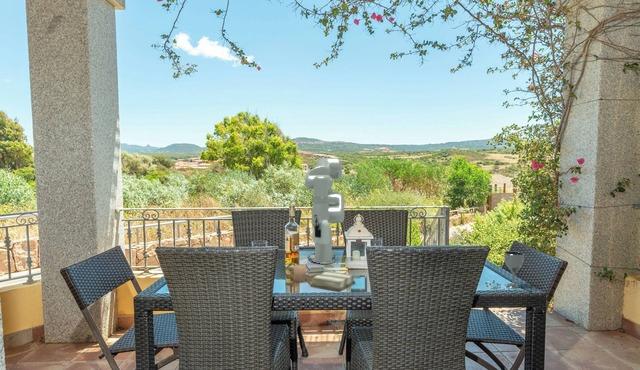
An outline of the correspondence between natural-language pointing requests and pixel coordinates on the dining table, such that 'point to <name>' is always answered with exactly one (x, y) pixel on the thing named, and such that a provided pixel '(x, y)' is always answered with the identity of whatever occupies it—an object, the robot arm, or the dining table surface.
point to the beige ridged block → (333, 281)
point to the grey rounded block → (323, 233)
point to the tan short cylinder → (300, 273)
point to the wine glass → (514, 263)
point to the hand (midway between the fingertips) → (321, 236)
